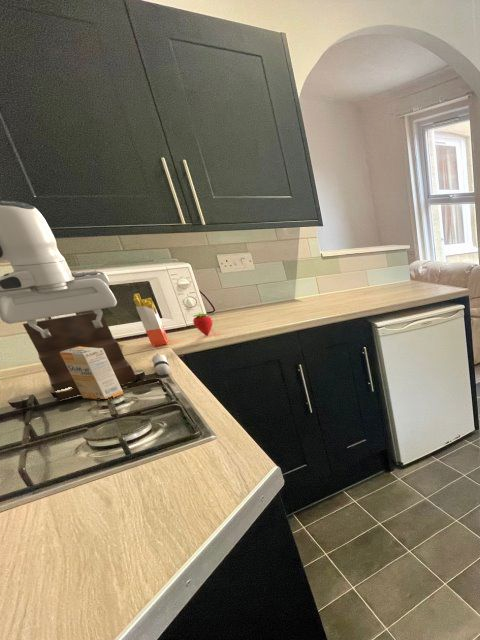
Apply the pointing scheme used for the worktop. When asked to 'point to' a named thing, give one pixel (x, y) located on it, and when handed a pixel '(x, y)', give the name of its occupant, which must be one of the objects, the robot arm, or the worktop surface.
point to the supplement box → (92, 372)
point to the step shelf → (73, 335)
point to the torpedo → (161, 364)
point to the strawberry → (203, 323)
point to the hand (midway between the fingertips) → (74, 332)
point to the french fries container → (150, 320)
